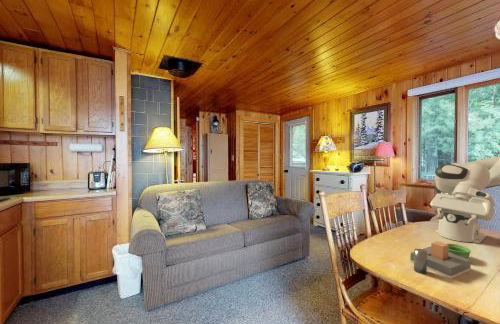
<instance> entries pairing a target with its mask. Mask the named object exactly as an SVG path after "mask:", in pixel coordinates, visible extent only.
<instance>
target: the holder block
mask: <svg viewBox="0 0 500 324" xmlns="http://www.w3.org/2000/svg"><path fill="white" fill-rule="evenodd" d="M422 249H423V250H425V251H427V271H431V272H433V273H435V274H439V275H440V276H443V277H445V278H448V279H450V280H452V279H454V278H456V277H458V276H459V277H460V276H461V275H463V274H465V273H467V272H469V271H471V264H472V259H470V258H469V259H466V258H463V257H460V256H457V255H454V254H451V253H448V260H446V261H443V260H440V259H437V258H435V257H432V256H431V246H428V247H425V248H422ZM409 256H410V260H409V261H410V264H411V263H412V264H413V265H414V251H411V252H410V255H409Z"/></svg>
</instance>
